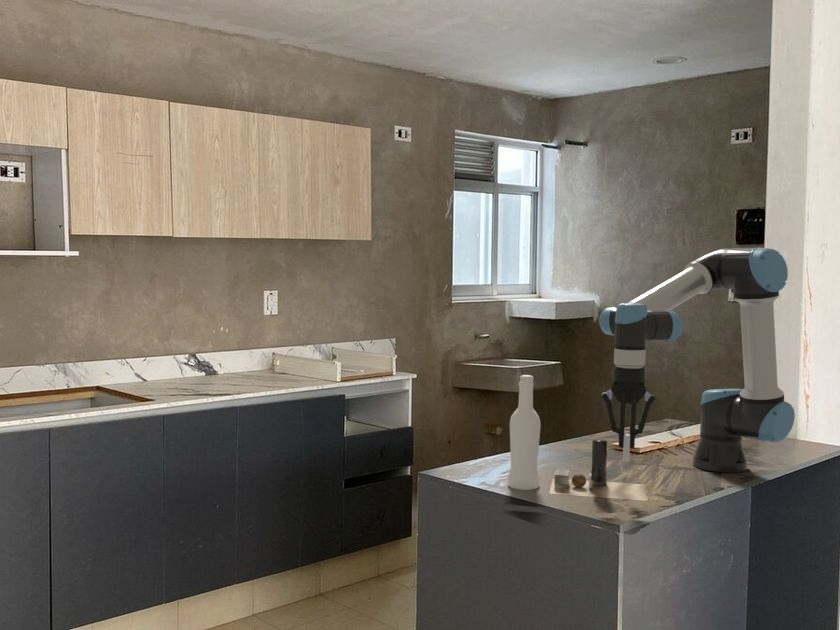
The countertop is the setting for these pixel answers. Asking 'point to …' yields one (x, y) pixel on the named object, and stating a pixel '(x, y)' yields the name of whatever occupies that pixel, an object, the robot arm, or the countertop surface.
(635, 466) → the countertop surface
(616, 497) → the board
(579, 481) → the brown ball
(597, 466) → the lever
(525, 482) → the bottle
